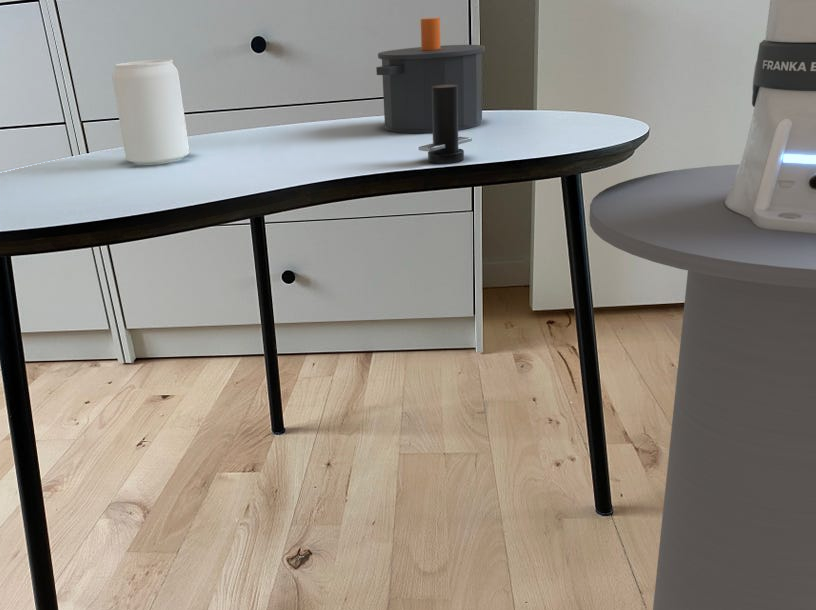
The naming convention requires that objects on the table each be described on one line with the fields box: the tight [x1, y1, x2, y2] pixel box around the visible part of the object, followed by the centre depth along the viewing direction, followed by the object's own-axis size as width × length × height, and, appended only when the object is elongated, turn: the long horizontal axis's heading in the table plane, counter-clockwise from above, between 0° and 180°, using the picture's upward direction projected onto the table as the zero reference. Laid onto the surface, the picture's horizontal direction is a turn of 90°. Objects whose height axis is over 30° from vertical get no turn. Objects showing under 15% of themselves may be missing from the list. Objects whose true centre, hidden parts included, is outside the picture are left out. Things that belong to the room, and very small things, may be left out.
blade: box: [418, 85, 473, 165], centre depth 92 cm, size 7×4×8 cm, turn 132°
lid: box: [377, 17, 486, 60], centre depth 113 cm, size 15×15×5 cm
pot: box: [375, 52, 483, 134], centre depth 116 cm, size 14×19×10 cm
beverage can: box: [111, 58, 190, 166], centre depth 105 cm, size 8×8×12 cm
